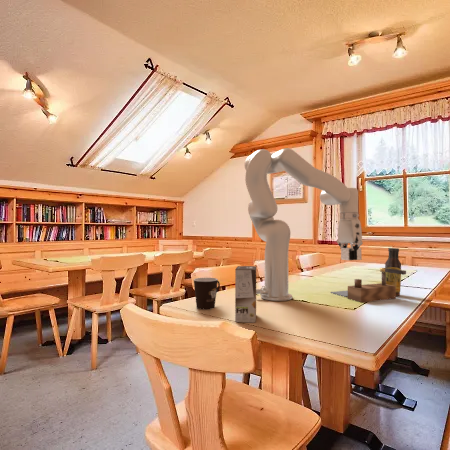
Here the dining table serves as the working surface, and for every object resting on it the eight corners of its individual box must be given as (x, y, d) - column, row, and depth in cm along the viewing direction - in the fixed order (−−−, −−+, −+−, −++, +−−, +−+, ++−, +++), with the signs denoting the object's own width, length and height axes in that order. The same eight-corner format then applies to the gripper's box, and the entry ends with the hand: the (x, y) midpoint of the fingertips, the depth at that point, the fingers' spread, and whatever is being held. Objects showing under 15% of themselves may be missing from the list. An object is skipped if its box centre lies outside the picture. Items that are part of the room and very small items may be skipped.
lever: (407, 274, 126) (407, 270, 126) (402, 274, 125) (402, 271, 125) (382, 270, 135) (382, 267, 135) (378, 271, 134) (378, 268, 134)
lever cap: (348, 260, 137) (348, 248, 137) (341, 259, 141) (341, 247, 141) (361, 259, 140) (361, 248, 140) (353, 258, 144) (353, 247, 144)
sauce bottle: (384, 295, 136) (384, 248, 136) (383, 292, 142) (383, 247, 142) (402, 297, 134) (402, 248, 134) (400, 294, 140) (400, 247, 140)
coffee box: (256, 323, 98) (256, 269, 98) (234, 322, 98) (234, 269, 98) (256, 314, 107) (256, 265, 107) (236, 314, 108) (236, 265, 108)
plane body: (360, 302, 124) (360, 275, 124) (347, 298, 131) (347, 273, 131) (395, 298, 131) (395, 273, 131) (381, 295, 137) (381, 270, 137)
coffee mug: (199, 311, 111) (199, 282, 111) (190, 306, 118) (190, 278, 118) (229, 307, 116) (229, 279, 116) (218, 302, 124) (218, 276, 124)
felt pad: (345, 297, 133) (345, 296, 133) (330, 292, 142) (330, 292, 142) (367, 294, 138) (367, 293, 138) (352, 290, 146) (352, 290, 146)
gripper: (370, 216, 133) (371, 260, 133) (342, 217, 149) (342, 257, 149) (356, 216, 131) (357, 261, 131) (328, 217, 146) (329, 257, 146)
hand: (349, 258), depth 140 cm, fingers closed on lever cap, 4 cm apart
